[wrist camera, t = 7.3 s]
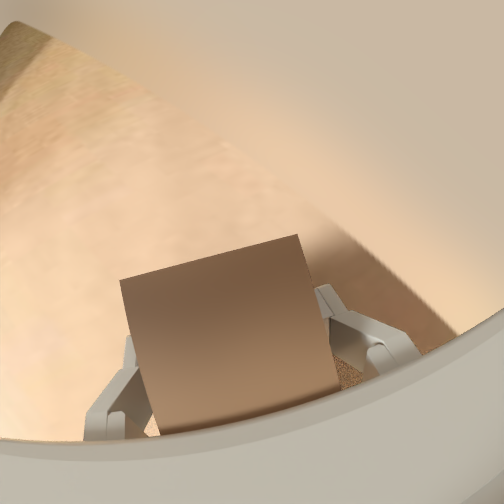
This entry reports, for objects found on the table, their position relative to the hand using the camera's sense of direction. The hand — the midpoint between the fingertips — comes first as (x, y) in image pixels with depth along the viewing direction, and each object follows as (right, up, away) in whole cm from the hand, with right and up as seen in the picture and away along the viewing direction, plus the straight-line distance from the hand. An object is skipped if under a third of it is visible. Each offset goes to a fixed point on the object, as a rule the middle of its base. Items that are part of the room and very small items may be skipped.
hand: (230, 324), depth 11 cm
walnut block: (0, -2, +6) cm, 6 cm away
